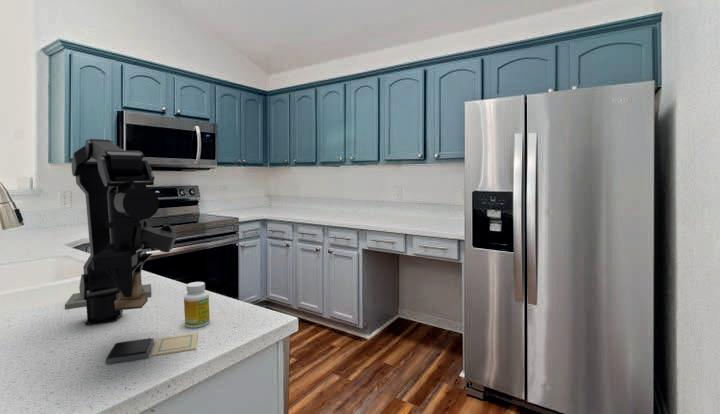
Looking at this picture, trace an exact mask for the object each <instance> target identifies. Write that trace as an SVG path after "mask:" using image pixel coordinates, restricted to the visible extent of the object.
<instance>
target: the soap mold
mask: <svg viewBox="0 0 720 414" xmlns="http://www.w3.org/2000/svg"><path fill="white" fill-rule="evenodd" d="M87 292H89V291H87ZM143 292H147V295H148V298H152V283H148V284H142V293H143ZM119 297H120V293H119ZM79 308H87V307H86V300H83V298H82V297H81V296H80V292H77V293H76V292H75V293H72V295H71V296H70V297H69V299H68V300H67V301H66V302H65V304H64V310H71V309H79Z"/></svg>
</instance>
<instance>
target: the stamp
mask: <svg viewBox="0 0 720 414" xmlns="http://www.w3.org/2000/svg"><path fill="white" fill-rule="evenodd" d="M142 285H143V283H142V271H141V272H135V273H134V282H133V290H132V296H131V297H124V295H123V294H122V292H121V291H120V297H119V298H118V299H116V300H115V301H114V303H115V311H116V310H123V311H124V310H126V311H127V310H136V309H138V310H139V309H143V307H144V306H145V305H146V304H147V302H148V301H149V299H148V295H147V292H143V293H142Z"/></svg>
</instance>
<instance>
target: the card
mask: <svg viewBox="0 0 720 414" xmlns="http://www.w3.org/2000/svg"><path fill="white" fill-rule="evenodd" d="M198 335H199V332H191V333H185V334H179V335H170V336H163V337H157V338H156V342H155V343H154V346H153V348H152V351H151V357H156V356H163V355H169V354H174V353H176V354H177V353H182V352H188V351H194V350H197V345H198Z"/></svg>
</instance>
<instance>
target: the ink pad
mask: <svg viewBox="0 0 720 414" xmlns="http://www.w3.org/2000/svg"><path fill="white" fill-rule="evenodd" d="M154 345H155V340H154V338H153V337H149V338H142V339H134V340H127V341H119V342H116V343H114V344H113V347H112V348H111V350H110V352H109V353H108V354H107V356H106V358H105V365H112V364H119V363H123V362H124V363H125V362H131V361H132V362H133V361H139V360H143V359H149V357H150V356H151V353H152V350H153V348H154Z"/></svg>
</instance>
